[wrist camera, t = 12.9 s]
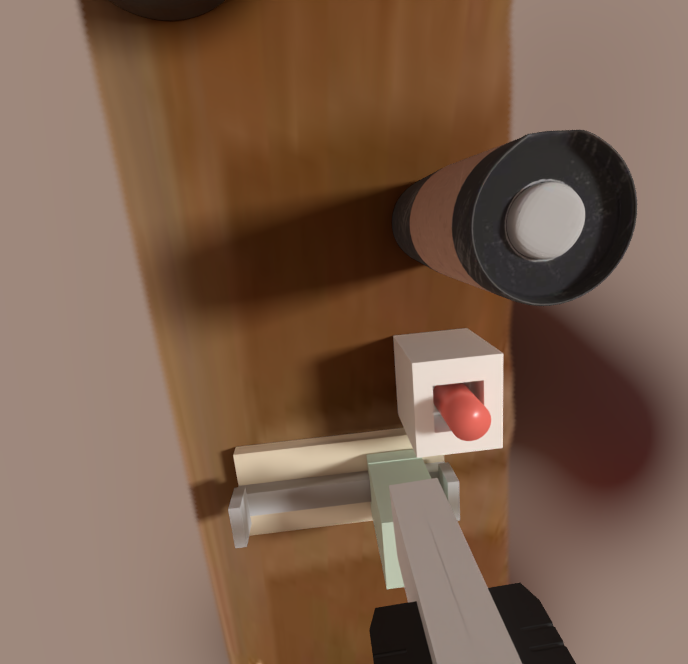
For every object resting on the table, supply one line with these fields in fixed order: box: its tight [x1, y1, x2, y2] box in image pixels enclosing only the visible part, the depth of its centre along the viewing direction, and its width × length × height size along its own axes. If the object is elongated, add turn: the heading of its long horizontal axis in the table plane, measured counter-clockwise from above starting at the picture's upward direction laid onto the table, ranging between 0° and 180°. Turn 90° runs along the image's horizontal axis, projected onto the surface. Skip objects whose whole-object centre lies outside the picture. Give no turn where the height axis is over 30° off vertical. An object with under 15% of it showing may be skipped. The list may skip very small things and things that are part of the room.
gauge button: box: [433, 383, 491, 441], centre depth 33 cm, size 3×3×5 cm
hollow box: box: [393, 328, 503, 458], centre depth 37 cm, size 8×7×8 cm
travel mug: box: [392, 130, 637, 306], centre depth 28 cm, size 8×8×20 cm
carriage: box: [366, 449, 431, 589], centre depth 37 cm, size 6×5×10 cm
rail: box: [228, 428, 460, 548], centre depth 40 cm, size 9×20×6 cm, turn 95°
